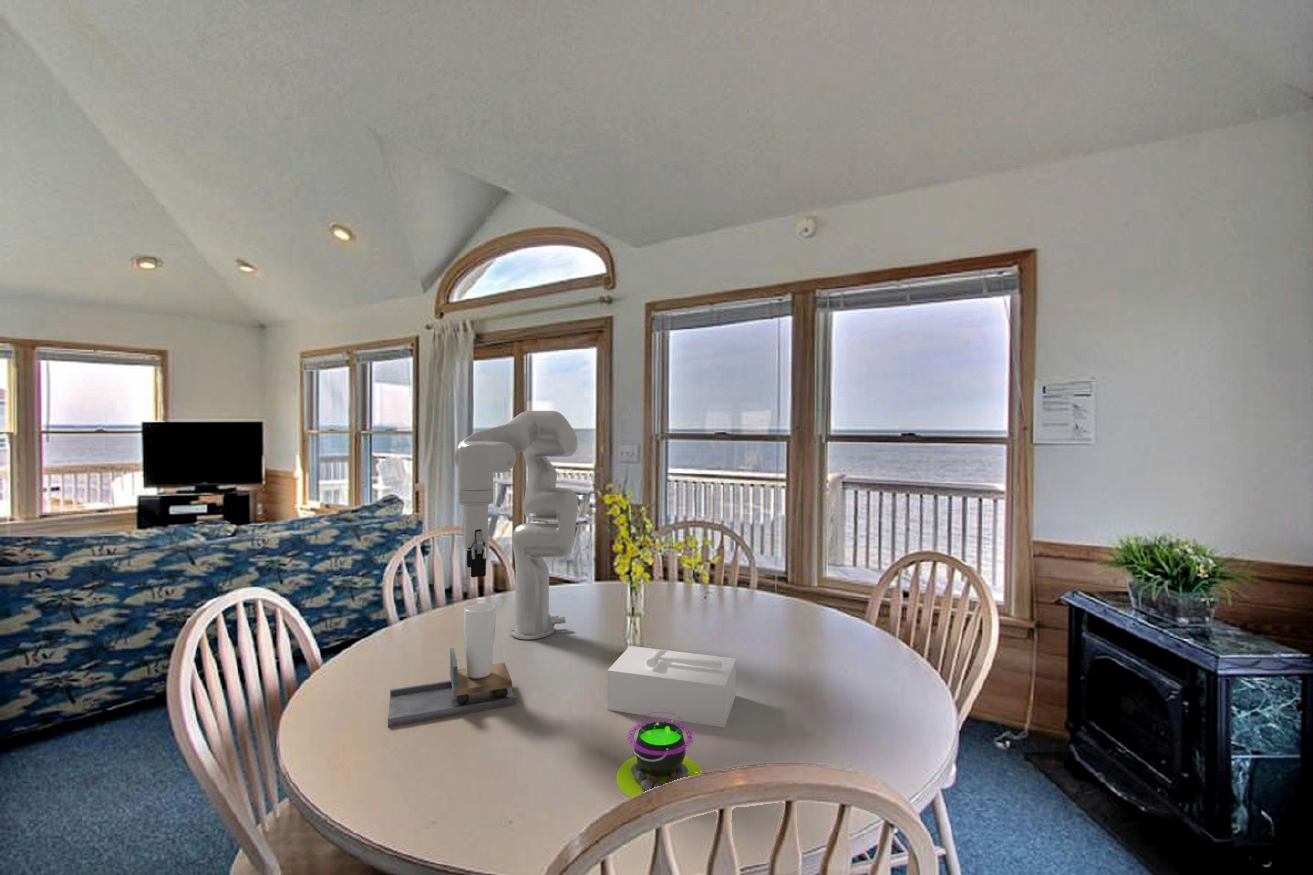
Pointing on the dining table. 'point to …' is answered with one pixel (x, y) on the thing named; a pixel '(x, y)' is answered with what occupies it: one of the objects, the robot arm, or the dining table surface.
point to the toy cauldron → (656, 757)
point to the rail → (438, 702)
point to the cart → (478, 681)
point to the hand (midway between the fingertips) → (476, 571)
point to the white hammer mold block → (673, 685)
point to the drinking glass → (479, 638)
